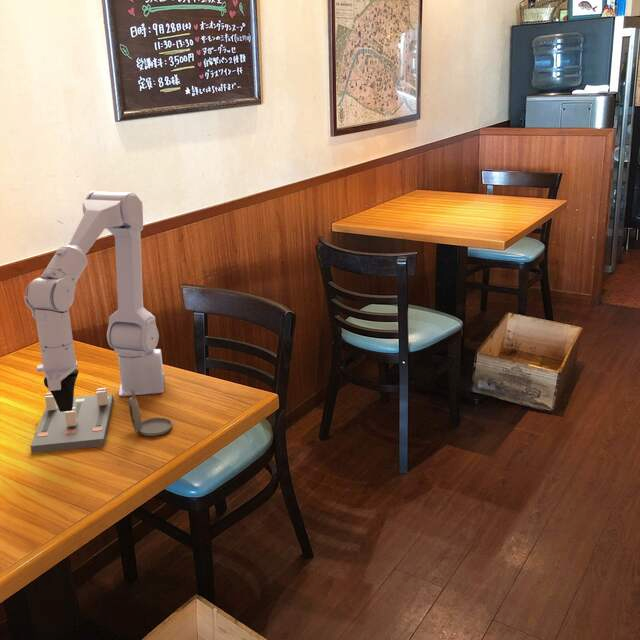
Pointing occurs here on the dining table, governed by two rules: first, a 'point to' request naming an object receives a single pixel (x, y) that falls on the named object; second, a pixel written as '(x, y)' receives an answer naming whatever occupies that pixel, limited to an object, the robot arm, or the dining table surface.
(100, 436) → the panel
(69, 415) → the handle
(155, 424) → the pocket watch
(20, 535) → the dining table surface
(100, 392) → the handle
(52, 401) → the handle
